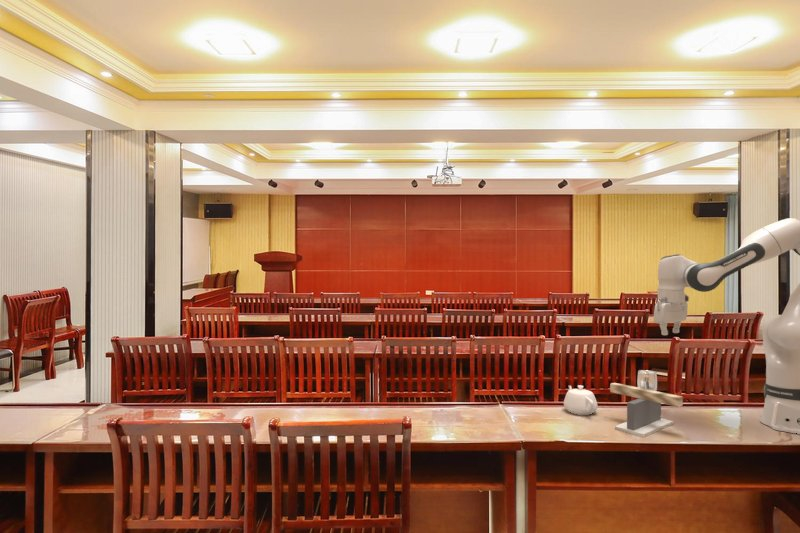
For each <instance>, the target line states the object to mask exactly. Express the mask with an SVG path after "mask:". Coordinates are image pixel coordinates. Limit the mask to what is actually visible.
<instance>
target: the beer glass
mask: <svg viewBox="0 0 800 533" xmlns="http://www.w3.org/2000/svg"><path fill="white" fill-rule="evenodd" d="M657 373H658V372H656V371H654V370H650V369H649V370H648V369H646V370H645V369H639V370H638V371H637V380H636V382H637V387H638V388H643V389H648V390H653V391H657V390H658V376H657V375H658V374H657Z"/></svg>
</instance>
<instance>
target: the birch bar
mask: <svg viewBox="0 0 800 533" xmlns="http://www.w3.org/2000/svg"><path fill="white" fill-rule="evenodd" d="M609 385H610V386H609V391H610V393H614V394H617V395H622V396H626V397H632V398H635V399H639V398H640V399H644V400H649V401H654V402H658V403H661V404H662V405H668V406H672V407H676V408H680V407H683V405H684V403H683V402H684V397H683V396H681V395H676V394H672V393H667V392H662V391H657V390H656V391H653V390H648V389H643V388H638V386H633V385H627V384H623V383H617V382H611V383H610V384H609Z"/></svg>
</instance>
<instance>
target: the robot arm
mask: <svg viewBox="0 0 800 533" xmlns="http://www.w3.org/2000/svg"><path fill="white" fill-rule="evenodd" d="M791 250H792V251H794V253H795V254H797V255H798V256H800V220H799V219H797V218H794V217H790V218H789V217H788V218H784V219H781V220H778V221H775V222H772V223H770V224H767V225H765V226H763V227H761V228H758V229H757V230H755V231H753V232H752V233H750V234H748V235H747V236H746V237H745V238H743V239H742V240H741V243H740V247H739V248H738V249H736V250H735V251H733V252H731V253H730V254H727V255H725V256H723V257H721V258H719V259H717V260H715V261H713V262H702V263H699V262H697V261H693V260H691V259H689V258H687V257H685V256H684V255H682V254H671V255H666V256H663V257H661V258H660V259H659V261H658V262H659V263H658V267H657V269H658V270H657V281H658V287H657V301H656V303H655V305H654V310H653V322H654V323H655V324H659V328H660V331H661V332H660V333H661V335H662V336H668V335H669V330H668V328H667V327H668V324H670V323H673V328H672V333H673V334H678V333H680V328H681V325H682V322H683V321H686V320H687V318H688V311H689V310H688V308H689V307H688V303H689V301H690V296H689V295H688V294H686V293H685V288H690V289H693V290H695V291H697V292H702V293H706V292H711V291H713V290H715V289H716V288H718V287H719V285H721V283H722V282H723V281H724V280H725V279H726V278H727V277H729V276H731V275H733V274H735V273H737V272H738V271H740V270H743V269H745V268H746V267H749V266H752V265H754V264H758V263H761V262H765V261H768V260H771V259H774V258H776V257H778V256H780V255H782V254H785V253H786V252H788V251H791ZM761 332H762V340H763V351H764V355H765V365H766V368H765V377H766V378H765V383H764V386H763V395H764V404H763V405H764V406H763V410H762V414H761V417H760V419H759V421H760V423H762V424H763V425H766V426H768V427H770V428H771V429H773V430H775V431H780V432H786V433H791V434H796V433H797V435H800V283H799V284H798V285H797V286H796V288H795V289H794V290H793V292H792V293H791V294H790V295H789V298H788V302H787V304H786V306H785V308H784V310H783V312H782V313H781V314H774V315H772V316H769V317H767V318H765V319H764V321H763V322H762V323H761Z"/></svg>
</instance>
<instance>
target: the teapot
mask: <svg viewBox="0 0 800 533" xmlns="http://www.w3.org/2000/svg"><path fill="white" fill-rule="evenodd" d="M583 388H584V385H581V384H580V385H579V384H578V385H577V388H572V385H568V390H567V392H566V394H565V397H564V398H563V399H564V400H563V406H564V408H565V409H566V410H567V411H568V413H570V412H571V414H573V413H574V415H576V414H578V415H577V416H590V415H589V414H591V415H593V414H594V413H595V412H596V411H597V410H598V406H599V405H598V402H597V399H596V397H595V394H594V393H593V392H592V391H591V390H588V389H583ZM592 413H593V414H592Z"/></svg>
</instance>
